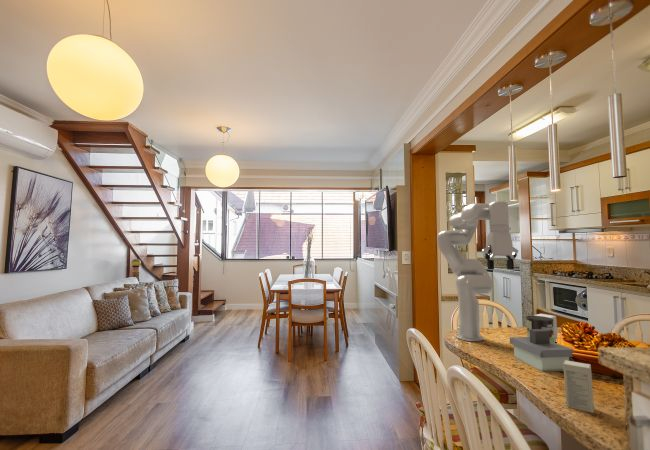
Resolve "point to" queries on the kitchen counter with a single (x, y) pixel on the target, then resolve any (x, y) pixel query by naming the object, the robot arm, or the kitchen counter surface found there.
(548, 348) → the lid
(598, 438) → the kitchen counter surface
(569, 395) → the skincare box
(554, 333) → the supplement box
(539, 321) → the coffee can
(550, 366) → the box
